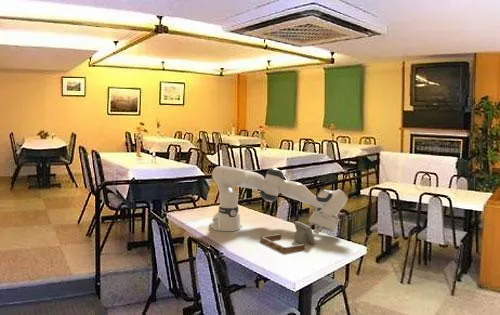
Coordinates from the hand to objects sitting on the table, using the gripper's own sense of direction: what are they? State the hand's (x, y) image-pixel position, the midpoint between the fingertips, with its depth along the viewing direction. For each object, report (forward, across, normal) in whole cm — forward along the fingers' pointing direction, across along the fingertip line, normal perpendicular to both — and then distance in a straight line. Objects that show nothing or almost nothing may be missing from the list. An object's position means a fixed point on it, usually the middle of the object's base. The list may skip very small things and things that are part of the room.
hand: (315, 232), depth 260 cm
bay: (+19, +1, +14) cm, 23 cm away
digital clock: (+8, +1, +2) cm, 9 cm away
